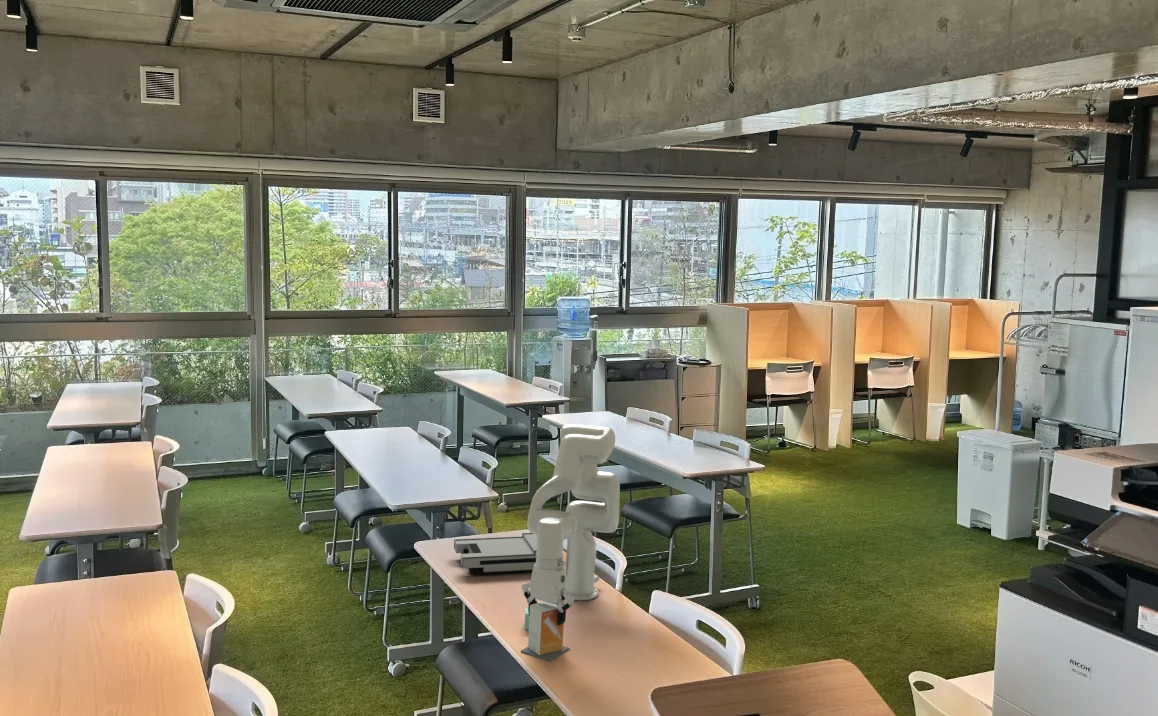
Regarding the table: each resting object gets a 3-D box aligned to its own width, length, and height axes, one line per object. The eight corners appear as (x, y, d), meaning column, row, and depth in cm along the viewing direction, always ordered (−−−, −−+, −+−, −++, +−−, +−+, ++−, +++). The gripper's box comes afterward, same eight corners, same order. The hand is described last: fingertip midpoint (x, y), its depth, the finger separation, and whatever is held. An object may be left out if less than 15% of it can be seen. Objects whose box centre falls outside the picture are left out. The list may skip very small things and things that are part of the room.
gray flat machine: (453, 558, 348) (454, 536, 347) (539, 553, 357) (540, 532, 356) (462, 578, 328) (463, 555, 327) (553, 573, 337) (554, 551, 336)
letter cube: (524, 622, 293) (525, 607, 293) (541, 623, 293) (541, 607, 293) (524, 629, 288) (525, 613, 287) (541, 630, 288) (541, 614, 288)
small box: (539, 656, 269) (541, 612, 268) (527, 647, 275) (529, 604, 273) (563, 650, 274) (565, 606, 273) (550, 641, 279) (552, 599, 278)
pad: (540, 640, 281) (540, 638, 281) (569, 649, 276) (569, 647, 276) (520, 652, 273) (520, 650, 272) (550, 661, 267) (550, 660, 267)
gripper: (582, 565, 270) (579, 623, 272) (531, 551, 278) (529, 608, 281) (568, 572, 263) (565, 631, 265) (516, 558, 272) (514, 616, 274)
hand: (546, 619), depth 273 cm, fingers open, 9 cm apart
